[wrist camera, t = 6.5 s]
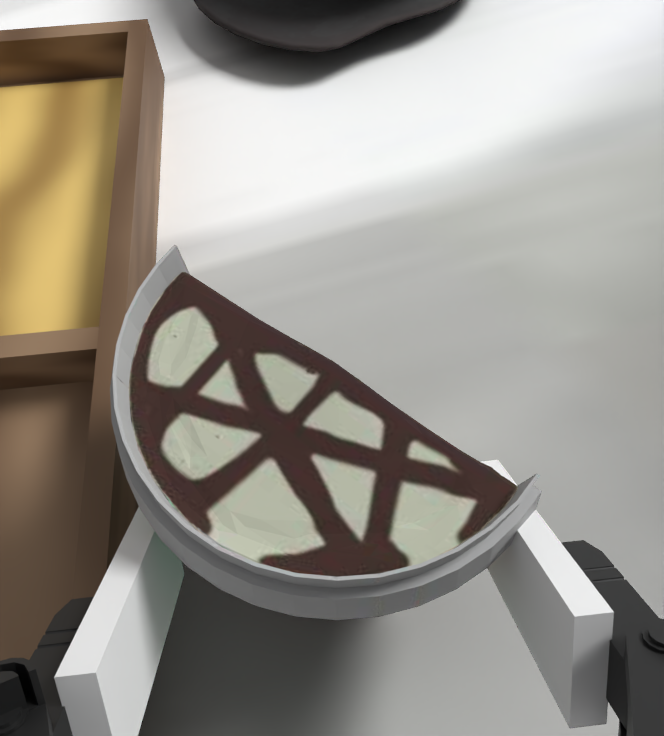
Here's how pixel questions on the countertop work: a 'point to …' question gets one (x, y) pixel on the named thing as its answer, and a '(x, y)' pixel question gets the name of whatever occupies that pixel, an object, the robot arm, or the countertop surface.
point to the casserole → (313, 19)
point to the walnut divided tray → (68, 301)
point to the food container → (292, 465)
